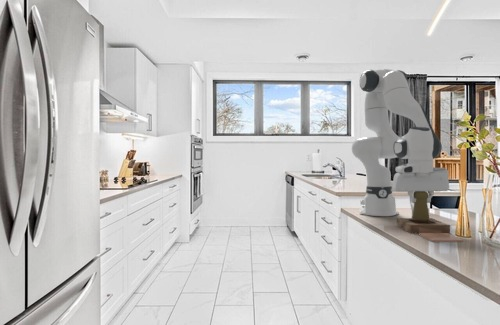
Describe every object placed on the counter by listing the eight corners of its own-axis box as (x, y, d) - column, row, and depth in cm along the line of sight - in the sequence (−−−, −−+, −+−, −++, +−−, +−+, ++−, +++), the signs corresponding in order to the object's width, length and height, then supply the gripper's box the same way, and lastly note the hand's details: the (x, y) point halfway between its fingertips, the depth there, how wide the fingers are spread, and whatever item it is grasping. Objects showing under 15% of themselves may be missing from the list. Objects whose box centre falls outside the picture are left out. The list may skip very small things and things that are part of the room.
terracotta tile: (418, 234, 117) (418, 232, 117) (447, 234, 116) (447, 232, 116) (431, 241, 107) (431, 239, 107) (462, 241, 106) (462, 239, 106)
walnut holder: (397, 225, 133) (397, 218, 133) (432, 225, 132) (431, 218, 132) (410, 233, 119) (410, 225, 119) (450, 233, 118) (450, 225, 118)
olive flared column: (431, 220, 122) (431, 192, 122) (414, 219, 124) (414, 191, 124) (427, 217, 128) (426, 190, 128) (410, 216, 130) (410, 189, 129)
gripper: (444, 166, 128) (444, 201, 128) (391, 167, 130) (391, 201, 130) (452, 167, 121) (452, 203, 122) (397, 168, 123) (397, 204, 124)
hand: (420, 202), depth 126 cm, fingers closed on olive flared column, 4 cm apart
